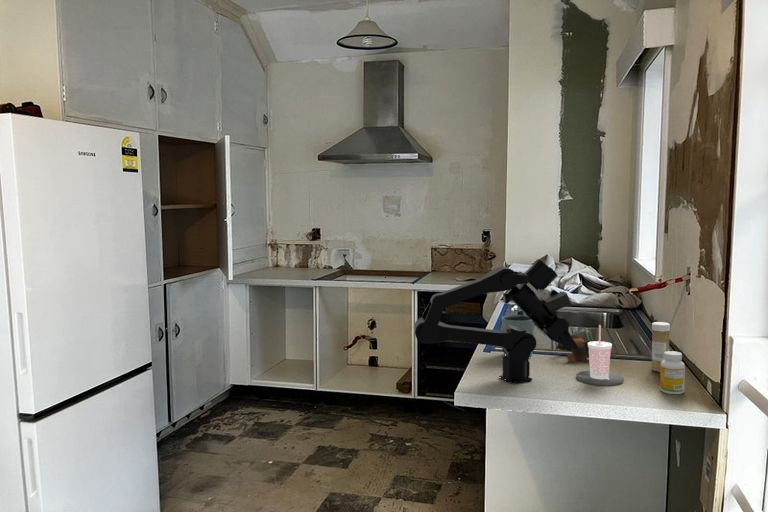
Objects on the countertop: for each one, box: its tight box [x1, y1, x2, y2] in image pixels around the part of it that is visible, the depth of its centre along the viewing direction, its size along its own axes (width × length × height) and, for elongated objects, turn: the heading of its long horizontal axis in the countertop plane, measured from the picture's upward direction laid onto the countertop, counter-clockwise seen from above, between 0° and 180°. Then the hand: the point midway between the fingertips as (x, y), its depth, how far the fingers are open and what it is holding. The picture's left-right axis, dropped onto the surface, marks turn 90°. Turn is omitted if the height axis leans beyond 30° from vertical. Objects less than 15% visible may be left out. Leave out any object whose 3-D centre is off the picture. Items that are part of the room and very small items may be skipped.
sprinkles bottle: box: [651, 321, 671, 373], centre depth 166 cm, size 5×5×13 cm
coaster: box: [575, 369, 625, 387], centre depth 160 cm, size 12×12×1 cm
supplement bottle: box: [659, 350, 686, 395], centre depth 148 cm, size 5×5×10 cm
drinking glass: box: [501, 314, 536, 357], centre depth 185 cm, size 10×10×12 cm
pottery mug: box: [556, 334, 595, 363], centre depth 181 cm, size 12×10×8 cm
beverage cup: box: [588, 324, 613, 379], centre depth 159 cm, size 6×6×14 cm
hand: (571, 344), depth 159 cm, fingers open, 9 cm apart
